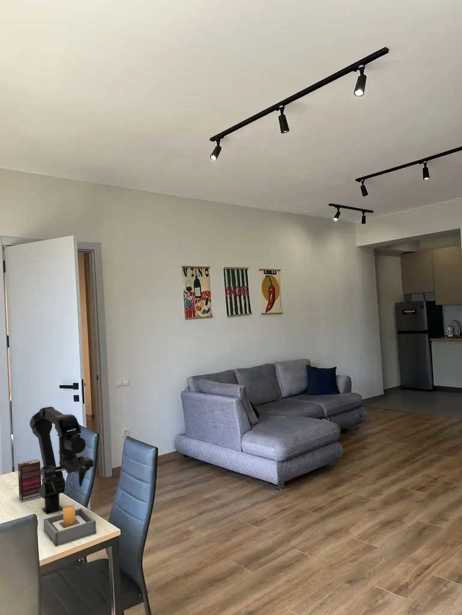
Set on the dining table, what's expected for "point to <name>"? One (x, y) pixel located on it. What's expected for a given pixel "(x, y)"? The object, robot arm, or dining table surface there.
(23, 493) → the supplement box
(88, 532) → the inlet box
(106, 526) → the dining table surface
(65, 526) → the plug
